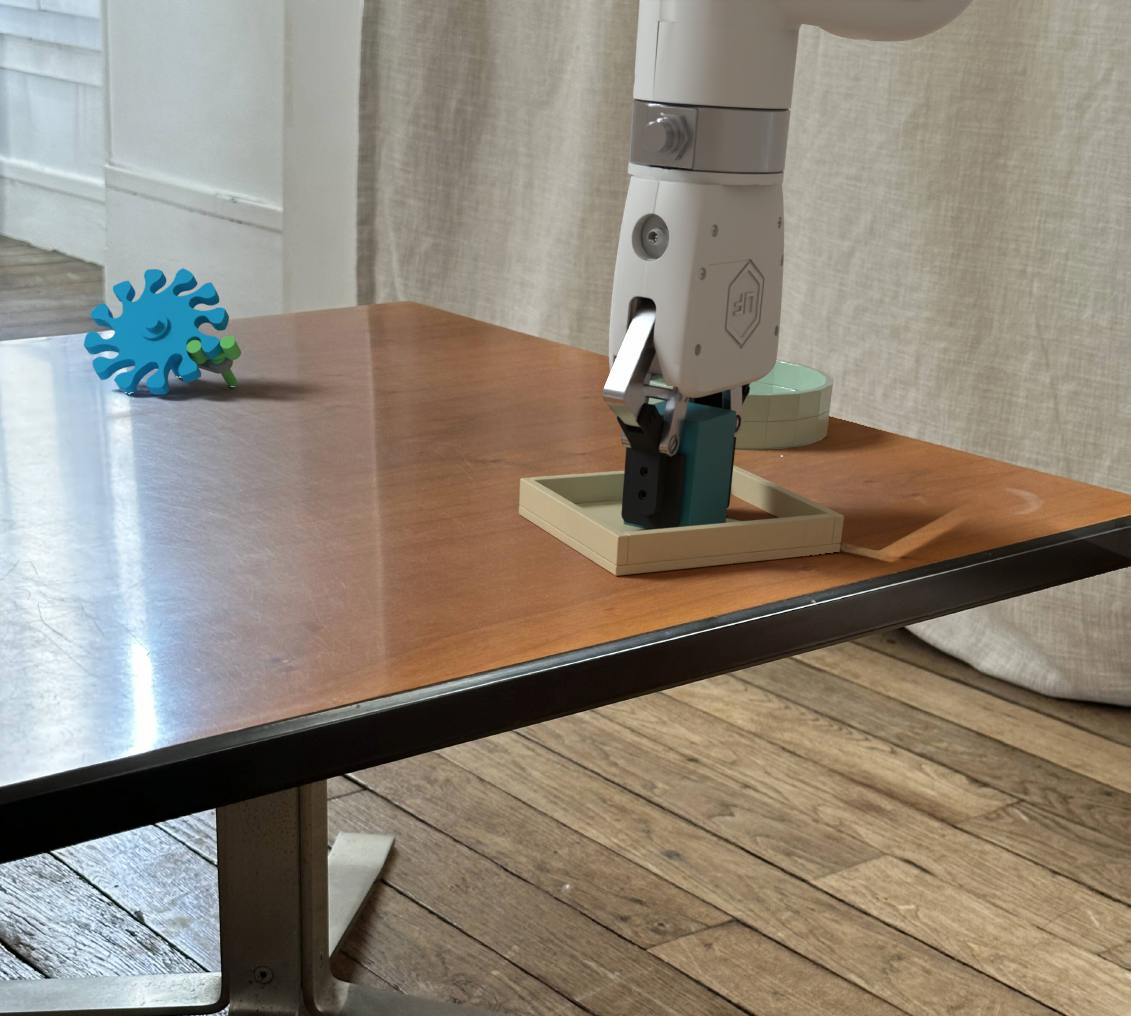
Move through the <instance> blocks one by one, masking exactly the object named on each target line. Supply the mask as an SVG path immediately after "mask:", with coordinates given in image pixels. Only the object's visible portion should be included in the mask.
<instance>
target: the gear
mask: <svg viewBox="0 0 1131 1016" xmlns="http://www.w3.org/2000/svg"><path fill="white" fill-rule="evenodd" d="M143 278H144V282H145V283H144V288H143V291H142V293H141V294H140V296H139V298H138V299H137V300H134V299H135V297H136V290H135V288H134V286H133V285H132V284H131V282H130V280H124V281H120V282H119V283H116V284H114V285H113V286H112V292H113V294H114V295H115V297H116V298H117V300H118V301H119V302H120V303H121V305H122V306H121V307H122V312H121V314H120V315H119V316H118V317H114V314H113V313H112V310H110V307H109V306H108V305H107V304H106V303H104V302H100V303H99V304H97V305H96V306H95V307H94V308H93V310H92V311H91V312H90V313H89V315H90V317H91V319H92V320H93V321H94V323H95V324H96V325H97V326H98V327H105V328H109V329H111V330H112V331H114V333H113V335H112V336H111V337H109V338H103V337H102V336H101V335H100V334H99V333H98V331H94V330H91V331H88V332H87V333H86V335H85V337H84V341H83V347H84V348H85V350H86V351H87V353H88V354H90V355H98V354H101V353H105V352H113V353H117V356H115V357H112V358H109V357H105V356H97V357H96V358H95V357H94V359H92V367H93V370H94V372H95V374H96V375H97V376H98V378H99V379H100V381H105V380H108V379H110V378H111V377H112V376H113V375H114V374H115V373H117V372H118V371H120V370H122V369H123V370H124V369H126V368H130V367H133V368H132V369H131V370H129V371H123V372H120V373H118V374H117V375H116V376H115V377H114V379H113V380H114V383H115V385H116V386H117V387H118V388H119V390H120V391H121V390H122V391H124V392H127V393H130V392H134V393H135V392H136V390H137V389H138V386H139V384H140V382H141V381H142V379H143V378H144V377H145V376H146V375H148V374H149V373H151V372H152V371H154V370H156V371H155V372H154V373H152V374H151V375H150V376H148V378H147V379H146V381H145V385H146V388H147V389H148V391H149V392H150V393H151V394H152V395H159V396H161V395H167V394H168V393H169V391H170V384H169V374H170V372H172V374H174V376H175V377H176V376H178V377H179V376H181V377H182V379H181V380H182V381H183V382H184V383H191V382H194V381H197V379H200V378H202V372H201V370H204V371H207V372H211V373H214V374H218V375H220V374H221V377H222V378H223V380H224V382H225V383H226V385H227V386H228V385H229V386H236V387H237V386H238V385H239V382H238V380H237V378H236V376H235V374H234V373H233V370H232V369H231V368H232V367H233V365H234V361H235V360H238V359H239V358H240V357H241V355H242V349H241V348H240V347H239V344H238V343H237V341H236V339H235V337H234V336H233V335H225V336H223V337H222V338H221V339H219V338H218V337H217V336H215V335H209V334H205V333H203V332H202V331H200V330H199V328H200V327H201V325H204V324H210V325H211V326H212V328H213V329H215V330H216V331H219V332H223V331H226V329H227V327H228V325H229V322H230V321H229V320H230V316H229V314H228V311H227V309H226V308H224V307H215V308H213V309H208V310H200V309H197V308H196V306H198V305H206V306H209V307H212V306H216V305H218V304H219V303H220V296H219V294H218V292H217V290H216V288H215V286H214V283H213V282H206V283H204V284H202V285H201V286H200V287H199V288H198V289H196V290H195V291H193V292H190V291H192V290H194V289H195V288H196V287H198V284H199V283H198V281H197V279H196V277H195V276H194V273H192V272H191V271H190V270H188V269H186V268H184V267H182V268H180V269H179V270H178V271H176V273H175V276H174V278H173V281H172V282H171V283H170V284H169V285H168V286H167V287H166V288H164V287H165V285H166V284H167V277H166V275H165V274H164V272H163V270H161V269H158V268H157V269H156V268H150V269H146V270H145V271H144V273H143ZM163 288H164V289H163ZM161 289H163V290H161ZM159 290H161V291H160V292H158V291H159ZM188 291H189V292H190V293H187V294H183V295H180V294H181V293H184V292H188ZM157 292H158V293H157ZM200 369H201V370H200ZM122 391H121V392H122ZM124 392H123V393H124Z"/></svg>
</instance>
